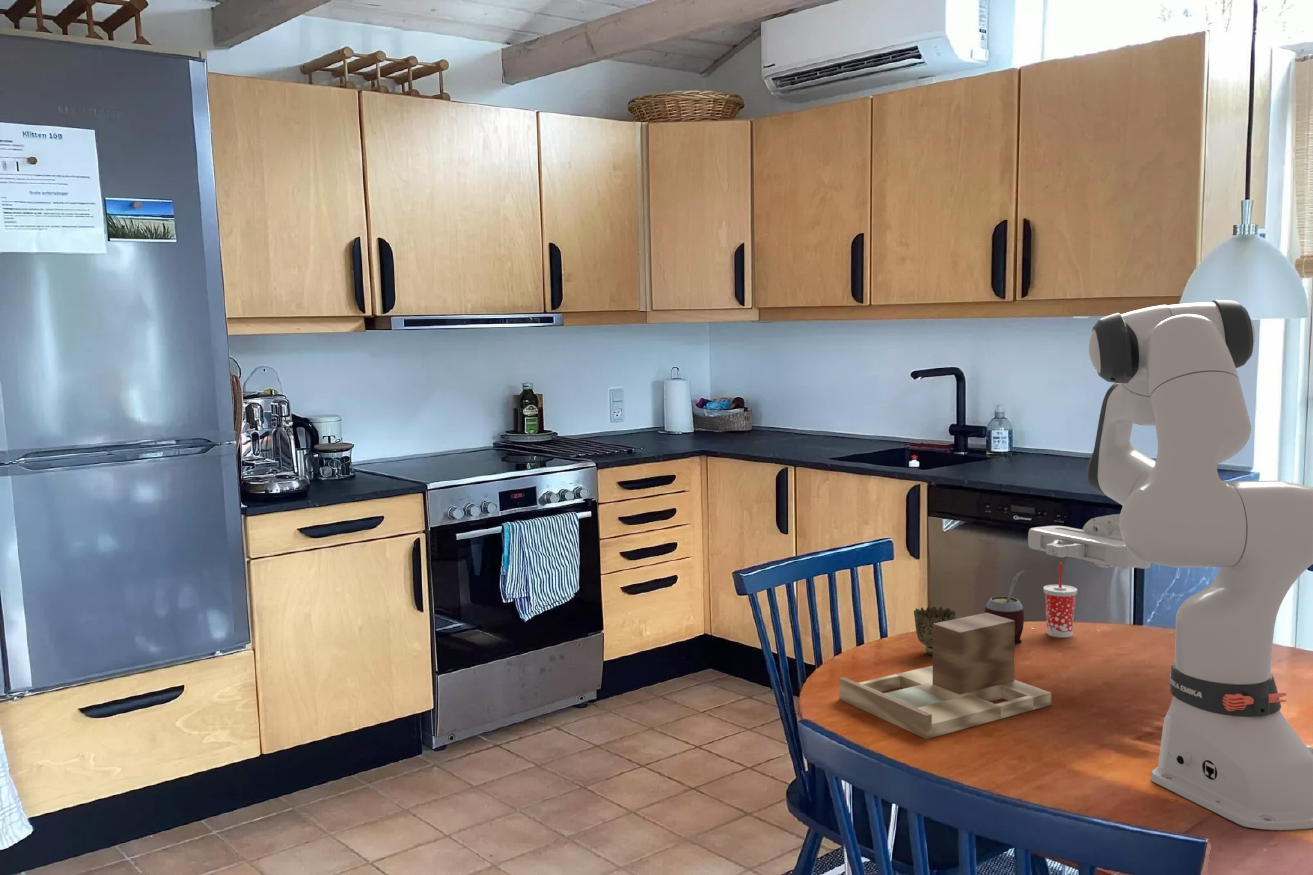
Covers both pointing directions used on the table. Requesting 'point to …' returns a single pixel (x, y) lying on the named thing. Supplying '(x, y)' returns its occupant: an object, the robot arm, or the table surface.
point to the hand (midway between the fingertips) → (1052, 551)
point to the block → (973, 652)
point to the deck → (938, 702)
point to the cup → (930, 624)
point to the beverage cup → (1060, 608)
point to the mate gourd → (1008, 609)
